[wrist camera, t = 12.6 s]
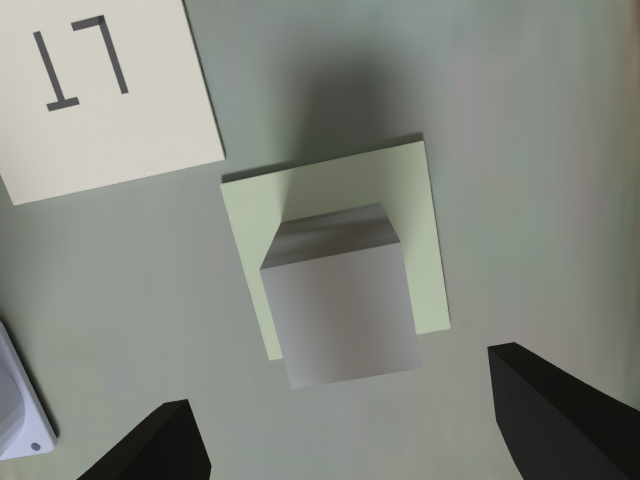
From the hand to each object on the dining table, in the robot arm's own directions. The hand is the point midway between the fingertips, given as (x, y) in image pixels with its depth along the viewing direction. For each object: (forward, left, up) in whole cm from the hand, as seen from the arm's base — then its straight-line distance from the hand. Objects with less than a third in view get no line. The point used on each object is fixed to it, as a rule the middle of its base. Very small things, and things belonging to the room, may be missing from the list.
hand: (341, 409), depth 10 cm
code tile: (-9, +11, -10) cm, 17 cm away
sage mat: (0, 0, -10) cm, 10 cm away
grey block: (0, 0, -10) cm, 10 cm away
